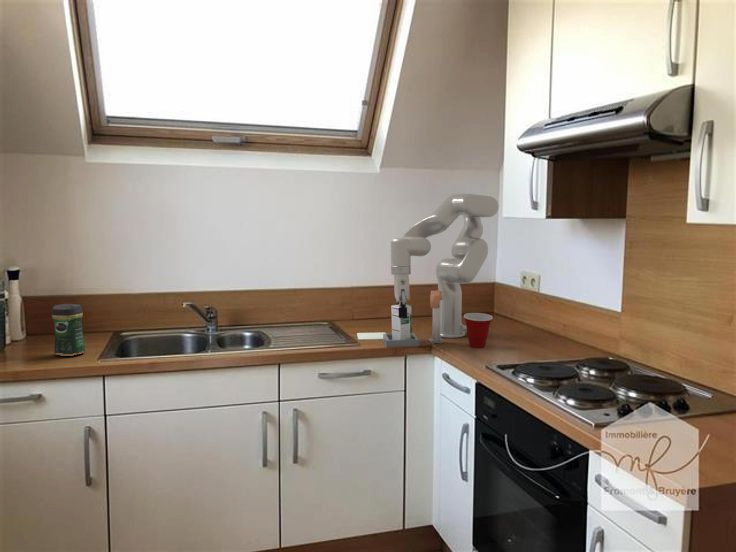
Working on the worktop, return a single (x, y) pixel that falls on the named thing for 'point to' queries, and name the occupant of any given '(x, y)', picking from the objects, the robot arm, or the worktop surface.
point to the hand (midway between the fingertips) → (401, 315)
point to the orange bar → (435, 299)
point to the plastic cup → (477, 328)
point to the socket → (415, 341)
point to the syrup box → (401, 324)
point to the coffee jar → (68, 328)
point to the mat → (370, 336)
